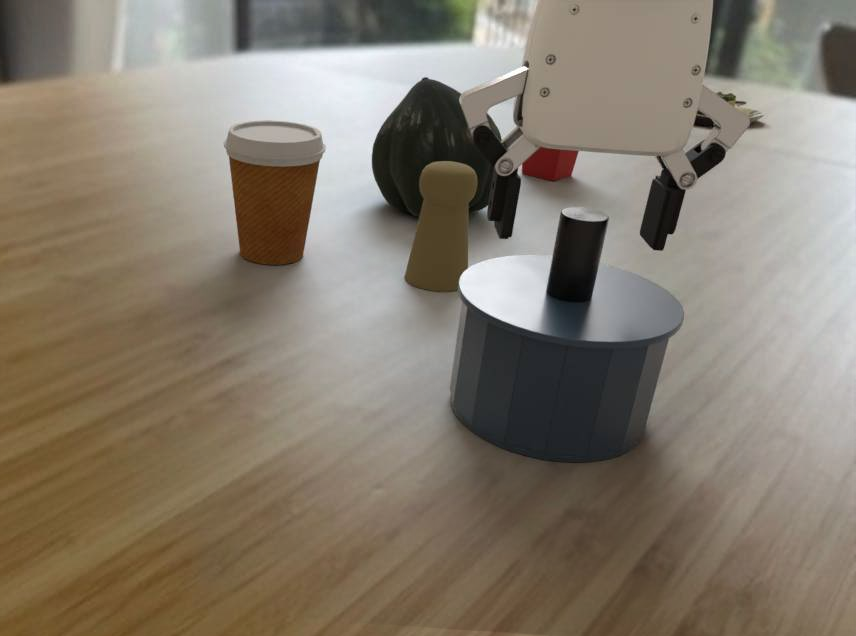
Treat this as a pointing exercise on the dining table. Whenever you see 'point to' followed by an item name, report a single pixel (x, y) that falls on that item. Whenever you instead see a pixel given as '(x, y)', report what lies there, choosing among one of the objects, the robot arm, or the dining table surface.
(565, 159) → the french fries
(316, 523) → the dining table surface
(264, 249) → the disposable coffee cup
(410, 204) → the squash
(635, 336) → the tin lid
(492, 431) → the tin
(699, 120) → the salad plate
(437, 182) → the cork
